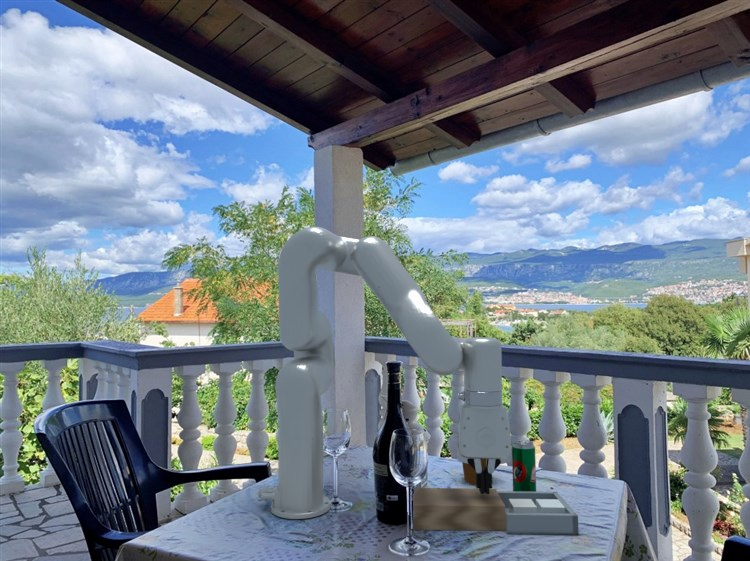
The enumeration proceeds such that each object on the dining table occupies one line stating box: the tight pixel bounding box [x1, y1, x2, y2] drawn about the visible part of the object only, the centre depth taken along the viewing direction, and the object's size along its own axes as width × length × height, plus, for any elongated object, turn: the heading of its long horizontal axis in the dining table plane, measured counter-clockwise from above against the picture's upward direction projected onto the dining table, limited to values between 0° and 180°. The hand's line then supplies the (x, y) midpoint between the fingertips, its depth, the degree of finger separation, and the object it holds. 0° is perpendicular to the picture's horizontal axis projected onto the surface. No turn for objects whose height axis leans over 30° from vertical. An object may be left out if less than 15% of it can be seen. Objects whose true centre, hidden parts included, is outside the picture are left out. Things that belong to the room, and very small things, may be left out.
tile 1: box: [509, 499, 537, 513], centre depth 102 cm, size 4×4×3 cm
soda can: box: [511, 439, 537, 492], centre depth 116 cm, size 5×5×12 cm
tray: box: [497, 490, 580, 536], centre depth 102 cm, size 13×13×4 cm
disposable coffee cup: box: [457, 435, 487, 486], centre depth 127 cm, size 10×10×12 cm
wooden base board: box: [413, 487, 506, 532], centre depth 103 cm, size 18×10×4 cm, turn 87°
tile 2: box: [536, 499, 565, 513], centre depth 102 cm, size 4×4×3 cm
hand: (484, 491), depth 103 cm, fingers closed
